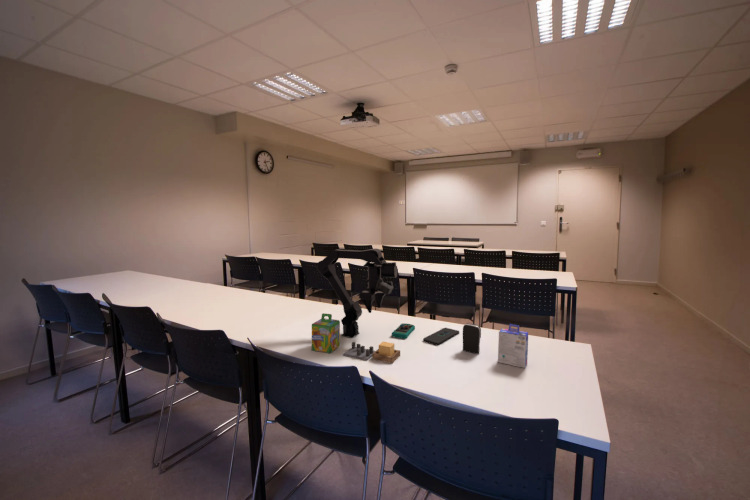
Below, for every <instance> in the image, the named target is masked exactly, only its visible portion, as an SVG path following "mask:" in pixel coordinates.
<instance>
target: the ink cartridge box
mask: <svg viewBox="0 0 750 500" xmlns="http://www.w3.org/2000/svg"><path fill="white" fill-rule="evenodd" d="M512 327H515V328H512ZM497 349H498V350H497V362H498V363H500V364H505V365H509V366H514V367H519V368H523V369H525V368H526V367H527V365H528V351H529V350H528V349H529V331H523V330H520V325H519V324H513V323H509V326H508V328H501V329H500V330H499V331H498V347H497Z"/></svg>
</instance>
